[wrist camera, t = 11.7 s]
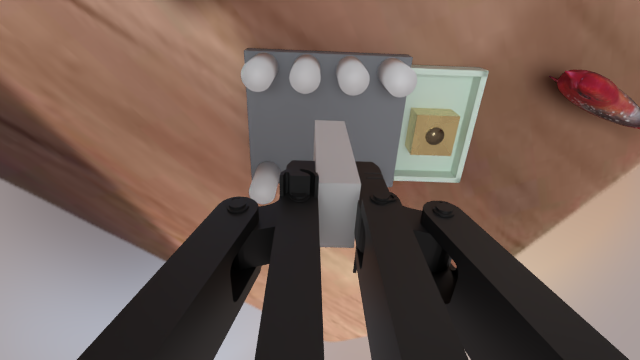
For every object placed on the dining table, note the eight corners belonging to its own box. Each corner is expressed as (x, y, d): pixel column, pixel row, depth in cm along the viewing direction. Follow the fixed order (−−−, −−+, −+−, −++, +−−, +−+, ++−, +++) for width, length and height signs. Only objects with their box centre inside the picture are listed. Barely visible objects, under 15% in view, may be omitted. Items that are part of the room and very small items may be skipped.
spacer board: (254, 175, 42) (244, 204, 36) (247, 48, 36) (232, 57, 29) (388, 179, 43) (400, 209, 37) (407, 54, 36) (426, 65, 30)
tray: (390, 172, 42) (393, 180, 40) (406, 64, 36) (411, 67, 34) (452, 174, 43) (459, 182, 41) (479, 67, 37) (488, 70, 35)
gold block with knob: (404, 145, 40) (410, 155, 38) (411, 107, 38) (417, 115, 36) (442, 146, 40) (451, 156, 38) (451, 109, 38) (460, 116, 36)
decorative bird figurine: (527, 45, 36) (597, 59, 27) (644, 117, 39) (739, 150, 30) (509, 70, 37) (570, 92, 28) (624, 138, 40) (710, 175, 32)
